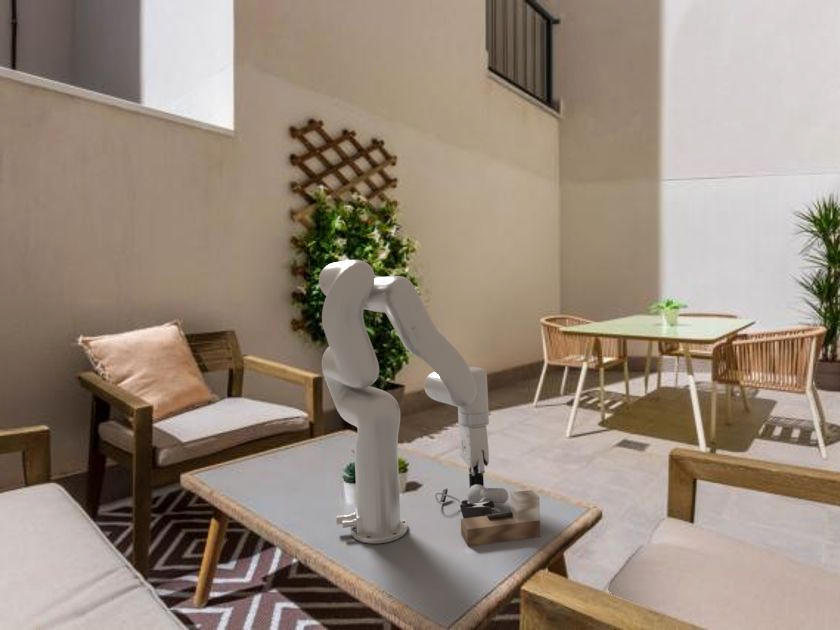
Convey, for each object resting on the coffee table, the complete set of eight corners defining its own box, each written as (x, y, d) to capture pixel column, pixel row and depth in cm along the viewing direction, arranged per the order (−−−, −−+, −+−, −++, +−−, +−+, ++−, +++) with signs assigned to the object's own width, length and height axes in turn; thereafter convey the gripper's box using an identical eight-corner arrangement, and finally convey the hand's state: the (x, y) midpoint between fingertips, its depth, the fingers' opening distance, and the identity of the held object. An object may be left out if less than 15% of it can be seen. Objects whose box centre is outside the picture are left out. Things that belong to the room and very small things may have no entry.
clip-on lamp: (428, 522, 123) (492, 526, 112) (421, 497, 123) (484, 498, 112) (454, 500, 133) (515, 501, 122) (447, 476, 133) (508, 475, 122)
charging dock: (467, 546, 106) (466, 505, 106) (459, 531, 113) (458, 493, 112) (540, 536, 109) (539, 497, 109) (528, 522, 116) (527, 485, 115)
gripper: (451, 411, 134) (454, 480, 136) (467, 427, 120) (471, 504, 121) (478, 408, 136) (481, 476, 137) (498, 423, 121) (501, 499, 122)
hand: (476, 489), depth 129 cm, fingers closed
